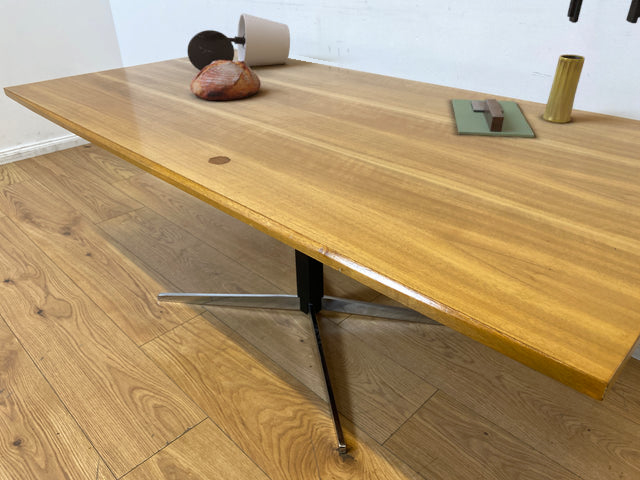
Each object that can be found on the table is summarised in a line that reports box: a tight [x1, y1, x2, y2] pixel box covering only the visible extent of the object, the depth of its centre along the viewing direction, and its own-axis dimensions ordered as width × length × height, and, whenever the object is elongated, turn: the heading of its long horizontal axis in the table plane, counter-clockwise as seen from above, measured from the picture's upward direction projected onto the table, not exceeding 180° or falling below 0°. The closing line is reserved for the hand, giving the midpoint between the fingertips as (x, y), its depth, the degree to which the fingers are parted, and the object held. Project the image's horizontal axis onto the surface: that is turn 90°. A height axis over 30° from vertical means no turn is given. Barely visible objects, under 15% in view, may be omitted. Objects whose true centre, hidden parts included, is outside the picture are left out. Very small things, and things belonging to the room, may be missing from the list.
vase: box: [542, 54, 586, 124], centre depth 112 cm, size 6×6×14 cm
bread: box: [189, 60, 262, 102], centre depth 136 cm, size 16×20×10 cm
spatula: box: [471, 98, 504, 132], centre depth 115 cm, size 22×7×3 cm, turn 170°
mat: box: [451, 98, 536, 138], centre depth 117 cm, size 16×26×1 cm, turn 170°
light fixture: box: [186, 12, 291, 72], centre depth 163 cm, size 17×19×34 cm
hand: (601, 22), depth 86 cm, fingers open, 9 cm apart
